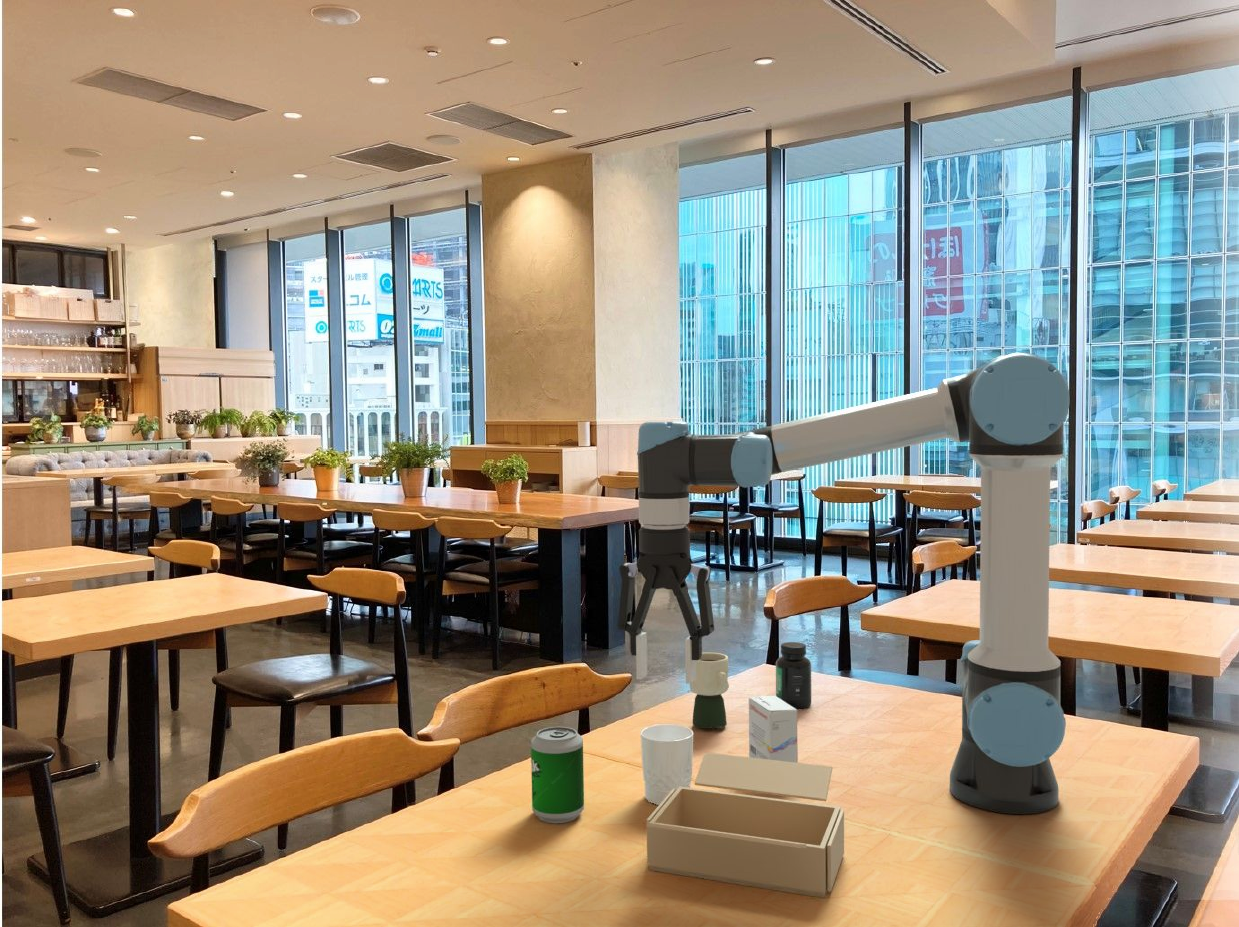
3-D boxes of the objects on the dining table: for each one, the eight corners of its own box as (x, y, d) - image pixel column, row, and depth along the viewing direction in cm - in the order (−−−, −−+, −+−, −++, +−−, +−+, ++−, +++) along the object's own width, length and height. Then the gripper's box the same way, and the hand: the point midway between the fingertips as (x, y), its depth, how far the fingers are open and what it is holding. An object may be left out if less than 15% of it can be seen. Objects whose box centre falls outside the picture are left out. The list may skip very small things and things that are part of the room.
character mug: (742, 732, 177) (741, 661, 177) (708, 738, 174) (707, 666, 174) (710, 716, 187) (710, 648, 186) (678, 721, 184) (677, 652, 183)
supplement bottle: (775, 709, 190) (775, 648, 190) (776, 699, 197) (775, 640, 197) (811, 711, 189) (811, 649, 189) (811, 700, 196) (810, 641, 195)
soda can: (593, 809, 144) (592, 728, 143) (569, 829, 137) (567, 744, 137) (548, 801, 147) (546, 722, 147) (522, 820, 140) (520, 737, 140)
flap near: (806, 844, 117) (797, 843, 111) (806, 848, 116) (797, 847, 111) (661, 824, 123) (646, 822, 118) (661, 827, 123) (646, 826, 118)
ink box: (799, 783, 153) (799, 708, 152) (770, 787, 152) (769, 711, 151) (775, 764, 161) (775, 693, 161) (747, 768, 160) (747, 696, 159)
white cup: (678, 812, 142) (677, 744, 142) (631, 801, 147) (630, 735, 146) (703, 794, 149) (702, 729, 149) (658, 784, 153) (657, 721, 153)
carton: (845, 852, 129) (845, 807, 128) (829, 898, 117) (829, 849, 116) (675, 828, 137) (675, 785, 137) (644, 869, 125) (643, 822, 125)
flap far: (826, 801, 130) (832, 768, 135) (825, 799, 130) (832, 766, 135) (694, 785, 137) (705, 754, 142) (694, 782, 136) (705, 752, 141)
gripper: (736, 524, 146) (737, 678, 147) (610, 521, 153) (613, 667, 154) (723, 530, 139) (724, 691, 140) (592, 526, 146) (594, 680, 147)
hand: (666, 678), depth 147 cm, fingers open, 7 cm apart
